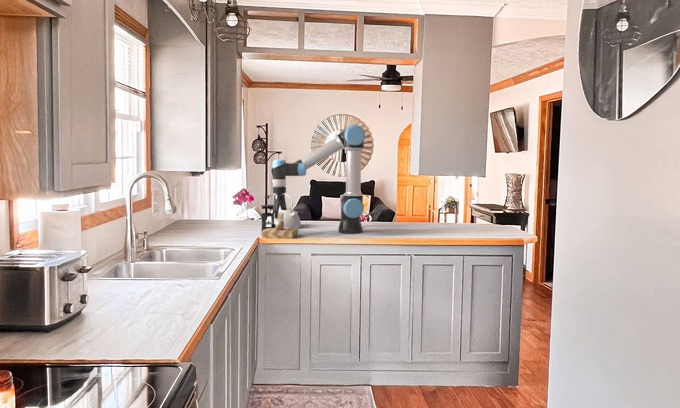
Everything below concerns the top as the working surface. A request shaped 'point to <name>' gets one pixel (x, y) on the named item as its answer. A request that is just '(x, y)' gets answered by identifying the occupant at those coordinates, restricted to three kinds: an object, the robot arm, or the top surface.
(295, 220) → the kettle
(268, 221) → the french press
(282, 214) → the peg
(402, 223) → the top surface
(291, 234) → the board
